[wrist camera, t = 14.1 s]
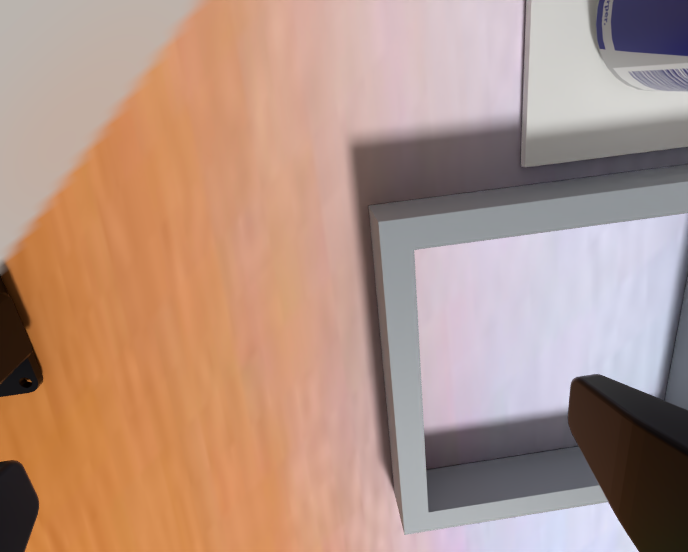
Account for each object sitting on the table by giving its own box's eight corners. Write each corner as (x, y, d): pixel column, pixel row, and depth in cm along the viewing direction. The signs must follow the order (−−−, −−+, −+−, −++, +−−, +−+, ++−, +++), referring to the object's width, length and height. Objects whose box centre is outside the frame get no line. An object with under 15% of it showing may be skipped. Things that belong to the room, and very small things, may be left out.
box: (394, 492, 24) (404, 534, 22) (368, 205, 19) (378, 222, 16) (676, 448, 25) (714, 484, 23) (736, 157, 19) (796, 166, 17)
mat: (520, 165, 19) (525, 167, 18) (531, -154, 15) (537, -160, 14) (759, 135, 19) (768, 136, 19) (830, -183, 15) (843, -189, 15)
